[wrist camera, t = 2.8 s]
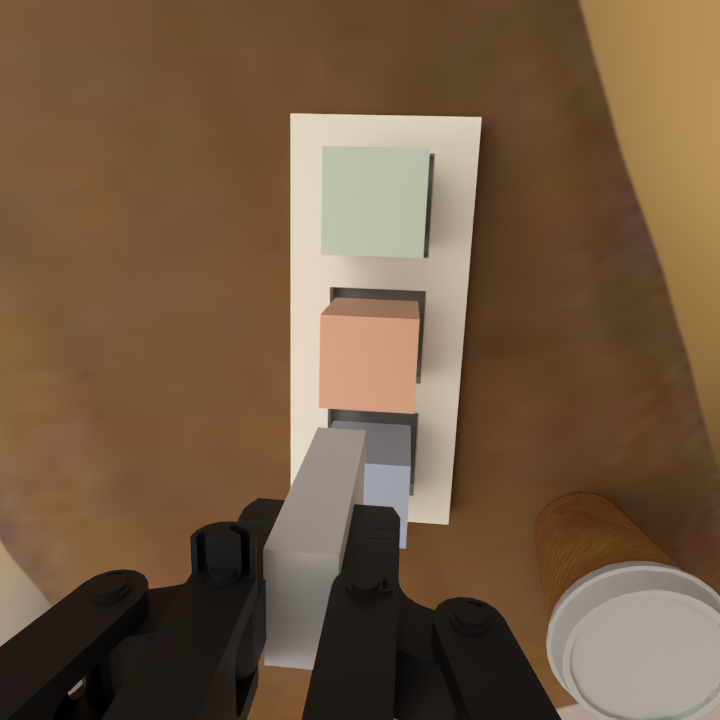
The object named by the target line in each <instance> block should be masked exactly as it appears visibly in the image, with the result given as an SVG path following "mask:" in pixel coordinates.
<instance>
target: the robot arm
mask: <svg viewBox="0 0 720 720" xmlns="http://www.w3.org/2000/svg"><path fill="white" fill-rule="evenodd" d="M365 446H366V430H351V429H335V428H320V427H318V429H317V431H316V433H315V435H314V437H313V440H312V442H311V444H310V446H309V449H308V451H307V453H306V455H305V457H304V460H303V462H302V464H301V466H300V469H299V471H298V473H297V475H296V477H295V480H294V482H293V484H292V486H291V489H290V491H289V493H288V495H287V497H286V500H275V499H261V498H258V499H257V500H255V501H254V502H252V503H251V504H249V505H248V506H247V507H245V508H244V510H243V512H242V513H241V515H240V517H239V519H238V521H237V522H218V523H213V524H209V525H206V526H204V527H202V528H200V529H198V530H197V531H196V532H195V533H193V534H192V535H191V536H190V541H191V562H192V574H191V575H190V577H189V578H188V580H187V582H186V583H184V584H180V585H176V586H170V587H163V588H155V589H149V587H148V581H147V579H146V577H145V576H144V575H143V574H141V573H139V572H137V571H133V570H124V569H123V570H114V571H109V572H106V573H103V574H100V575H97V576H95V577H93V578H91V579H90V580H88V581H86V582H84V583H83V584H82V585H80V586H79V587H78V588H77V589H75V590H74V591H73V592H71V593H70V594H69V595H67V596H66V597H65V598H63V599H62V600H61V601H60V602H58V603H57V604H56V605H54V606H53V607H52V608H50V609H49V610H48V611H47V612H45V613H44V614H42V615H41V616H40V617H39V618H37V619H36V620H35V621H33V622H32V623H31V624H30V625H28V626H27V627H25V628H24V629H23V630H22V631H20V632H19V633H18V634H16V635H15V636H14V637H12V638H11V639H10V640H8V641H7V642H6V643H5V644H3V645H2V646H1V647H0V720H247V717H248V714H249V711H250V708H251V705H252V702H253V699H254V696H255V693H256V690H257V687H258V677H259V673H258V662H259V659H260V656H261V653H262V651H263V648H264V661H265V665H269V666H279V667H289V668H299V669H309V670H313V671H312V676H311V680H310V685H309V689H308V694H307V698H306V703H305V707H304V712H303V716H302V720H393V718H395V719H398V720H561V718H560V716H559V715H558V713H557V711H556V709H555V707H554V706H553V704H552V702H551V700H550V699H549V697H548V695H547V693H546V692H545V690H544V688H543V686H542V685H541V683H540V681H539V679H538V677H537V676H536V674H535V672H534V670H533V669H532V667H531V665H530V663H529V662H528V660H527V658H526V656H525V655H524V653H523V651H522V649H521V647H520V646H519V644H518V642H517V640H516V639H515V637H514V635H513V633H512V632H511V630H510V628H509V626H508V625H507V623H506V621H505V619H504V618H503V617H502V615H501V614H500V613H499V612H498V611H497V610H496V609H495V608H493V607H492V606H490V605H489V604H487V603H485V602H483V601H480V600H476V599H473V598H464V597H456V598H452V599H447V600H445V601H444V602H442V603H441V604H439V605H438V606H437V608H436V610H432V609H429V608H426V607H424V606H422V605H419V604H417V603H415V602H414V601H412V600H411V599H409V598H408V597H407V596H406V595H405V594H404V593H403V591H402V590H401V588H400V586H399V580H398V575H399V547H400V520H401V518H400V517H399V515H398V514H397V512H396V511H395V509H394V508H393V507H387V506H373V505H363V498H364V472H365ZM81 679H82V683H83V684H82V685H81V686H80V687H79V688H78V689H77V690H76V691H75V692H74V693H72V694H71V695H68V692H69V691H70V690H71V689H72V688H73V687H74V686H75V685H76V684H77V683H78V682H79V681H80V680H81Z"/></svg>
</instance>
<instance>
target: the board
mask: <svg viewBox="0 0 720 720" xmlns="http://www.w3.org/2000/svg"><path fill="white" fill-rule="evenodd" d="M481 120H482V117H448V116H395V115H342V114H291V486H292V484H293V482H294V480H295V477H296V475H297V473H298V471H299V469H300V466H301V464H302V462H303V460H304V457H305V455H306V453H307V451H308V449H309V446H310V444H311V442H312V440H313V437H314V435H315V433H316V431H317V429H318V427H320V428H331V425H332V423H333V421H348V422H364V423H380V424H396V425H411V471H410V488H409V504H408V521H407V522H419V523H433V524H446V525H448V523H449V511H450V499H451V487H452V475H453V462H454V450H455V438H456V426H457V413H458V401H459V389H460V377H461V365H462V352H463V340H464V328H465V316H466V304H467V291H468V279H469V267H470V255H471V242H472V230H473V218H474V206H475V194H476V181H477V169H478V157H479V145H480V133H481ZM322 146H347V147H390V148H430V156H429V172H428V189H427V206H426V222H425V239H424V255H423V258H400V257H375V256H349V255H323V254H321V220H322ZM335 298H356V299H378V300H401V301H418V306H419V318H420V322H419V338H418V355H417V371H416V388H415V405H414V414H408V413H391V412H375V411H358V410H342V409H325V408H319V371H320V314H321V313H322V312H323V311H324V310H325V309H326V308H327V307H328V306H329V305H330V303H331V302H332V301H333V300H334V299H335Z"/></svg>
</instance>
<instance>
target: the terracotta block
mask: <svg viewBox="0 0 720 720" xmlns="http://www.w3.org/2000/svg"><path fill="white" fill-rule="evenodd" d="M419 322H420V318H419V306H418V301H401V300H378V299H356V298H335V299H334V300H333V301H332V302H331V303H330V305H329V306H328V307H327V308H326V309H325V310H324V311H323V312H322V313H321V314H320V371H319V408H325V409H342V410H358V411H375V412H391V413H408V414H414V405H415V388H416V371H417V355H418V338H419Z"/></svg>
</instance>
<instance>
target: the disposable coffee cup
mask: <svg viewBox="0 0 720 720" xmlns="http://www.w3.org/2000/svg"><path fill="white" fill-rule="evenodd" d="M535 542H536V547H537V553H538V559H539V565H540V572H541V578H542V584H543V590H544V597H545V603H546V608H547V615H548V621H549V626H548V632H547V638H546V646H547V655H548V660H549V663H550V666H551V668H552V671H553V674H554V675H555V676H556V678H557V679H558V681H559V682H560V684H561V685H562V687H563V688H564V689H565V690H567V691H568V692H569V693H570V694H571V695H572V696H573V697H574V698H575V699H576V701H577V702H578V703H579V704H580V705H581V706H582V707H583V708H584V710H585V711H587V712H589V713H590V714H592V715H593V716H595V717H596V718H598V719H599V720H695V719H697V718H699V717H701V716H703V715H704V714H706V713H707V712H708V711H710V710H711V709H713V708H714V707H716V706H717V705H718V703H719V702H720V596H719V595H718V594H717V593H716V592H715V591H714V590H713V589H712V588H711V587H709V586H708V585H707V584H705V583H704V582H702V581H701V580H700V579H698V578H697V577H695V576H693V575H691V574H689V573H686V572H684V571H683V570H682V569H681V568H680V567H679V566H678V565H677V564H675V563H674V562H673V561H672V560H671V559H670V558H669V557H668V556H667V555H666V554H665V553H664V552H663V551H662V550H661V549H660V548H659V547H658V546H657V545H655V544H654V543H653V542H652V541H651V540H650V539H649V538H648V537H647V536H646V535H645V534H644V533H643V532H642V531H641V530H640V529H639V528H638V527H637V526H636V525H635V524H633V523H632V522H631V521H630V520H629V519H628V518H627V517H626V516H625V515H624V514H623V513H622V512H621V511H620V510H619V509H618V508H617V507H616V506H615V505H614V504H613V503H612V502H610V501H609V500H607V499H606V498H604V497H601V496H598V495H596V494H591V493H573V494H568V495H565V496H562V497H560V498H558V499H556V500H554V501H553V502H551V503H550V504H549V505H548V506H546V508H545V509H544V510H543V511H542V512H541V514H540V516H539V517H538V519H537V522H536V525H535Z"/></svg>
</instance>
